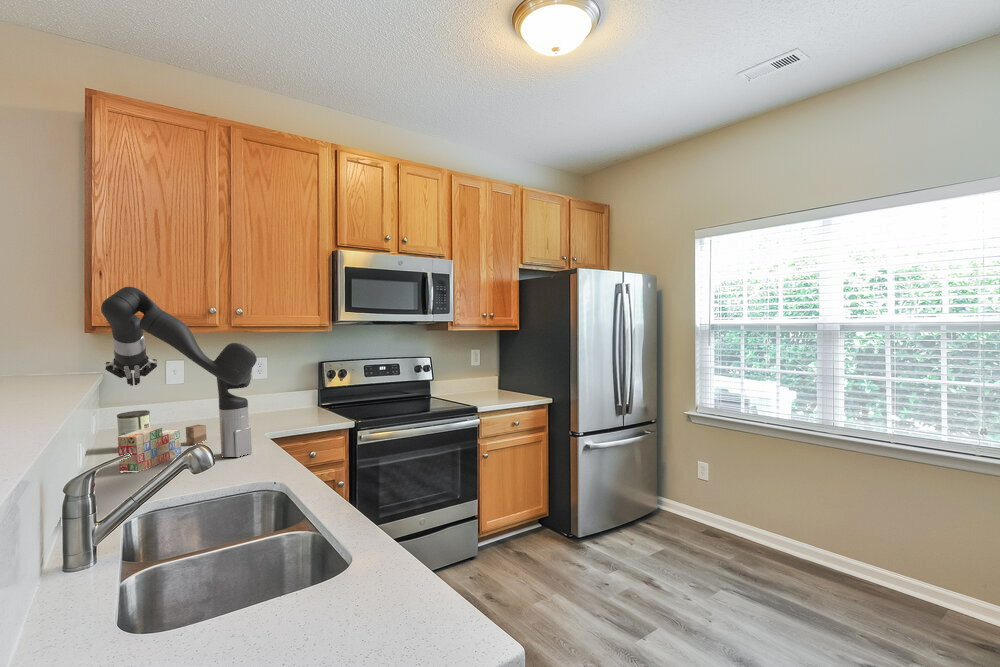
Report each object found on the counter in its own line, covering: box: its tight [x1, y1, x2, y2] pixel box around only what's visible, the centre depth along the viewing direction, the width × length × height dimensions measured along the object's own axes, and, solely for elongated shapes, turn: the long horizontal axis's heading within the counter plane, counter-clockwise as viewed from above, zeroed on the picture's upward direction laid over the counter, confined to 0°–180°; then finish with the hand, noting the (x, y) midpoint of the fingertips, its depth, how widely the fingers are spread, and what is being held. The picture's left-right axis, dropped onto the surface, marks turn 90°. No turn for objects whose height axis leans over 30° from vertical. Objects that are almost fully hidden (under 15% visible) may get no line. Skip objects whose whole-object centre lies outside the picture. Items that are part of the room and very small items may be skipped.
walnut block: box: [185, 423, 208, 446], centre depth 198 cm, size 5×5×7 cm
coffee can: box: [116, 409, 151, 437], centre depth 192 cm, size 10×10×14 cm
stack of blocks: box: [117, 427, 182, 472], centre depth 171 cm, size 21×6×12 cm, turn 179°
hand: (134, 383), depth 154 cm, fingers closed
